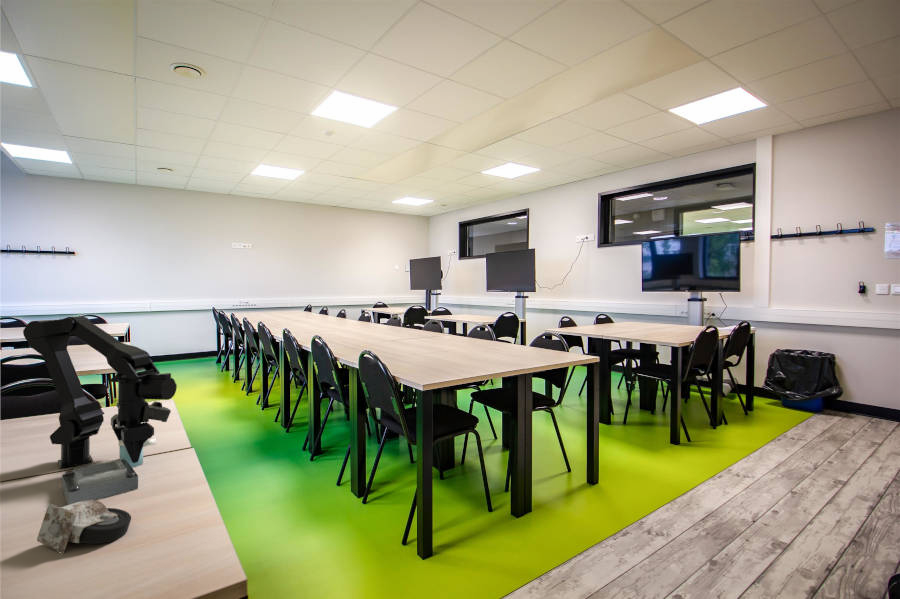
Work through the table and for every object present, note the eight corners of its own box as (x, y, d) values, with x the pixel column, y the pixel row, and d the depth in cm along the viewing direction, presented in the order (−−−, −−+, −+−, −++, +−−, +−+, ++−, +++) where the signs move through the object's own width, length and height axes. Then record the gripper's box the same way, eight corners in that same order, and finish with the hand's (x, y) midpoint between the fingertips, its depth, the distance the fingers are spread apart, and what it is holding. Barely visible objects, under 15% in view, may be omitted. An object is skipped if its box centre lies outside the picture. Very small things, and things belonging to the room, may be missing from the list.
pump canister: (116, 464, 112) (116, 439, 112) (152, 456, 118) (152, 432, 117) (120, 470, 108) (120, 444, 108) (158, 461, 114) (158, 437, 114)
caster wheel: (134, 542, 81) (79, 566, 72) (91, 521, 84) (32, 541, 75) (145, 507, 82) (92, 526, 72) (102, 487, 85) (45, 503, 75)
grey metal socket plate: (61, 487, 98) (62, 468, 98) (126, 472, 107) (126, 454, 107) (68, 507, 89) (68, 485, 89) (138, 488, 98) (138, 469, 98)
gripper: (177, 399, 111) (176, 459, 111) (158, 388, 124) (158, 441, 124) (124, 407, 103) (124, 471, 103) (110, 394, 116) (110, 451, 116)
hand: (131, 457), depth 112 cm, fingers open, 9 cm apart
